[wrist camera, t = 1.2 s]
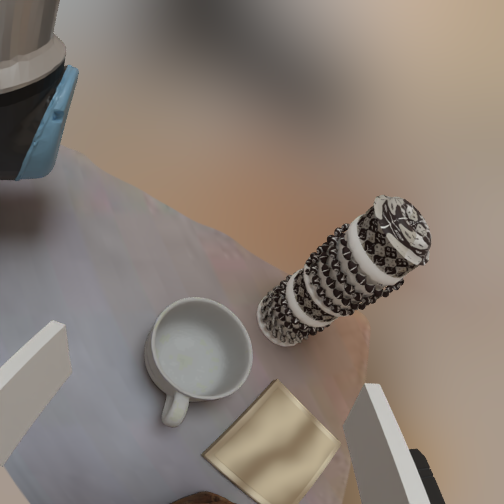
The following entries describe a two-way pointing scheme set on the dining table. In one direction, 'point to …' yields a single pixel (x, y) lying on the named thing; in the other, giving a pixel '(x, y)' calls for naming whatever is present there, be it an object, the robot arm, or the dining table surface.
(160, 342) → the teacup
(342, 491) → the dining table surface
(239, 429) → the beige packet
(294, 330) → the decorative candle
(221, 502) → the block
